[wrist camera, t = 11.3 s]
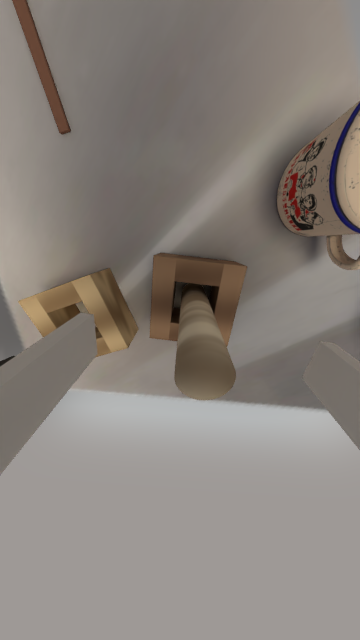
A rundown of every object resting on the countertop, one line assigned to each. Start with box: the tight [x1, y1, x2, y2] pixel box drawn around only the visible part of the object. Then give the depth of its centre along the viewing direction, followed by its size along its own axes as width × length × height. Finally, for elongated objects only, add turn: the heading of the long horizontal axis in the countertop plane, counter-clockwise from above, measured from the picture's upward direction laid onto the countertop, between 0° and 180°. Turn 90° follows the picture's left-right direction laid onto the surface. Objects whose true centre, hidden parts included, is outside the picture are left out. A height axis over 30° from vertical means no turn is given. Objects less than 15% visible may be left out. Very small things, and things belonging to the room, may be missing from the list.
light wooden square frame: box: [18, 268, 138, 357], centre depth 23 cm, size 9×9×5 cm
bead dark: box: [150, 253, 247, 347], centre depth 21 cm, size 9×9×5 cm
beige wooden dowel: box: [175, 283, 236, 400], centre depth 16 cm, size 3×3×16 cm
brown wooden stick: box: [12, 0, 71, 134], centre depth 15 cm, size 14×1×1 cm, turn 12°
